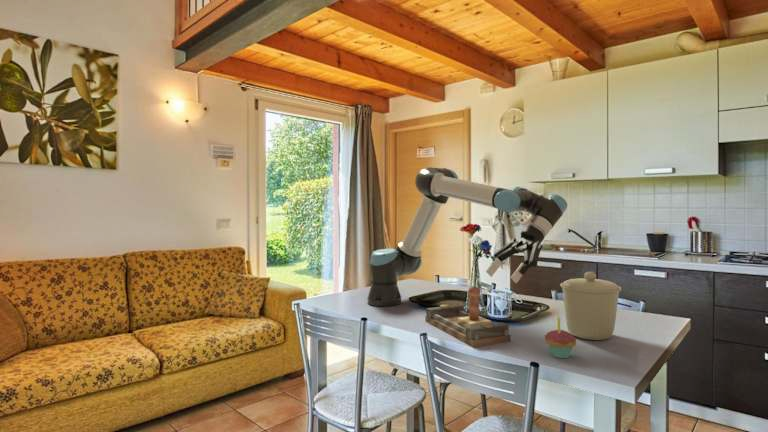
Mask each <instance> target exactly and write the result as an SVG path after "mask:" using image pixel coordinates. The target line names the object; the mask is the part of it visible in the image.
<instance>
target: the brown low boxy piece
mask: <svg viewBox="0 0 768 432" xmlns="http://www.w3.org/2000/svg"><path fill="white" fill-rule="evenodd" d="M467 316H469V312H466V311H464V306H463V305H461V304H452V305H449V304H440V305H439V306H437V307H435V306H434V307H427V308H426V315H425V318H424V319H425V320H424V321H425V322H426V323H429V324H430V325H432V326H434V327H435V328H438V329H439V330H441V331H443V332H445V333H446V334H448V335H450V336H453V337H454V338H455V339H457V340H459V341H460V342H463V343H465V344H466V345H469V346H471V347H472V348H475V347H476V348H477V347H481V346H482V345H483V346H488V344H489V345H494V344H493V343H496V344H500V343H501V342H502V343H506V342H507V343H509V342H511V340H512V339H511V337H512V336H511V334H509V330H510V329H509V324H508V323H505V322H496V323H492V322H491V323H482V325H480V326H473V327H466V328H464V327H462V326H460V325H458V324H457V318H460V317H467Z"/></svg>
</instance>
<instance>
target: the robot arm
mask: <svg viewBox="0 0 768 432" xmlns="http://www.w3.org/2000/svg"><path fill="white" fill-rule="evenodd" d="M414 183H415V187H416V190H418V191H419V192H420V193H421V194H422V197H423V198H422V199H421V202H420V204H419V206H418V208H417V210H416V213H415V215H414V217H413V219H412V222H411V224H410V226H409V228H408V230H407V232H406V235H404V236H405V237H404V239H403V241H400V242H398V244H397V246H396V248H382V249H381V248H380V249H376V250H374V251H372V253H371V254H370V261H369V263H370V288H369V291H368V295H367V304H368V305H371V306H374V307H392V306H398V305H400V304H401V303H402V295H401V292H400V289H399V286H398V277H402V276H407V275H411V274H414V273H416V272H418V271H419V269H420V268H421V266H422V264H423V263H422V262H423V259H422V250H421V248H422V246H423V244H424V242H425V241H426V240H425V239H426V238H427V236H428V234H429V232H430V230H431V227H432V225H433V224H434V221H435V219H436V217H437V215H438V212H440V209H441V207H442V206H443V205H446V204H447V202H448V200H449V198H452V199H456V200H460V201H465V202H469V203H472V204H477V205H481V206H485V207H490V208H494V209H498V210H499V211H500V212H502V213H503V212H504V213H513V212H526V213H528V214H531V215H532V217H531V219H530V220H529V221H528V223H527V224H526V226H525V227H524V228H523V229H522V230H521V232H520V238H518V239H516V238H515V237H513V238H512V239H511V240H510V241H509V242H508V243H506V245H504V246H503V247H501V249H499V250H498V251H496V252H495V253H494V254H493V256H494V258H495V259H494V260H493V261H492V263H490V266H489V267H488V268H487V270H486V271H485V272H486V273H487V274H488V275H489V276H490V277H493V276H494V274H495V273H496V272H497V271H498V269H499V268H500V266H501V265H502V264H503V262H504V261H505V260H506V259H509V258H510V257H512V256H513V255H516V254H519V253H520V254H521V253H523V261H522V262H521V263H520V264H519V265H518V267H517V268H516V270H515V271H514V272H513V274H511V276H510V279H511V280H512V281H513V282H514V284H518V282H519V281H520V279H521V278H522V277H523V275H525V274H526V272H527V271H528V270H529V269H530V268H532V267H533V268H536V267H537V265H538V261H539V257H540V253H541V250H542V249H543V247H544V246H543V244H542V243H543V241H544V240H545V238H546V237H547V235H548V234H549V233H550V231H551V230H552V229H553V228H554V226H555V225H556V224H557V222H558V221H559V220H560V219H561V218H562V216H564V213H565V212H566V210H567V208H568V203H567V201H566V199H565V198H564V197H563V196H561V195H559V194H553V193H552V194H550V195H549V196H547V197H545V196H543V195H540V194H537V193H535V192H533V191H532V190H529V189H527V188H525V187H520V186H516V187H514V188H513V189H508V188H502V187H498V186H493V185H487V184H485V183H484V184H483V183H478V182H474V181H469V180H464V179H460V178H459V177H458V175H457V173H456V172H455V171H454V170H453V169H449V168H446V167H444V168H443V167H424V168H422V169H420V170H419V172H418V173H417V175H416V176H415V180H414Z"/></svg>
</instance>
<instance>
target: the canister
mask: <svg viewBox="0 0 768 432" xmlns="http://www.w3.org/2000/svg"><path fill="white" fill-rule="evenodd" d="M583 277H584V278H580V277H579V278H570V279H567V280H564V281H563V282H561V283H560V284H559V286H560V287H561V288H562V297H563V305H564V306H563V307H564V312H565V322H566V327H567V330H568V333H570V334H572V335H573V336H574V337H575V338H580V339H583V340H589V341H603V340H607V339H609V338H611V336H612V335H613V334H614V331H615V327H616V326H615V325H616V318H617V311H618V305H619V304H618V303H619V293H620V292H621V290H622V287H621V286H619V285H618V284H616V283H615V282H614V281H613V282H612V281H609V280H606V279H605V280H604V279H601V278H600V279H598V278H597V275H596V273H595V272H593V271H586V272H584V274H583Z"/></svg>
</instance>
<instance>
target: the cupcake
mask: <svg viewBox="0 0 768 432" xmlns="http://www.w3.org/2000/svg"><path fill="white" fill-rule="evenodd" d="M544 341H545V343H546V344H547V345H548V347H549V350H550V353H551V356H553V357H554V358H555V357H556V358H557V359H568V358H570V356H571V352H572V350H573V348H574V347H575V346H576V345H577V338H576V336H574V335H572V334H571V333H570V332H569V331H567V330H562V329H561V318H560V315H558V316H557V329H555V330H550V331H548V332H547V333H546V334H545V335H544Z"/></svg>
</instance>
